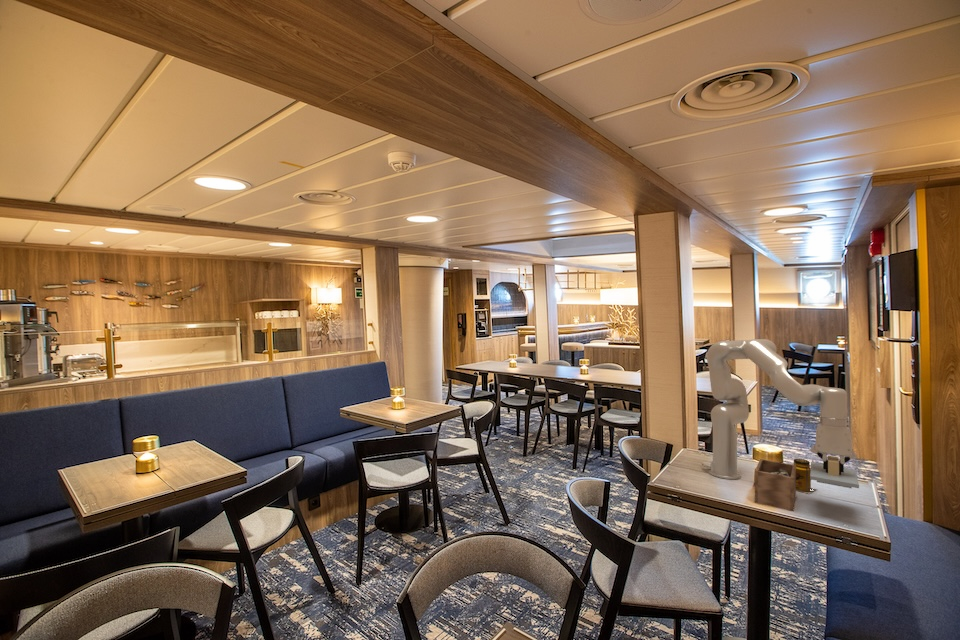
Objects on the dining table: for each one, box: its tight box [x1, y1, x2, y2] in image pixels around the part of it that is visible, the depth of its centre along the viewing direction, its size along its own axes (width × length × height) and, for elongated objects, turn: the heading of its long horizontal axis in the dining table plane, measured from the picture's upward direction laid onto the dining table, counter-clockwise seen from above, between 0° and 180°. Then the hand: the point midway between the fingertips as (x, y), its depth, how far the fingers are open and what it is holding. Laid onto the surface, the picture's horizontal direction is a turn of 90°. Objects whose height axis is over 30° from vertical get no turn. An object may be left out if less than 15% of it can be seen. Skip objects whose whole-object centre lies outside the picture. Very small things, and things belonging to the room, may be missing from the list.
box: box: [754, 458, 797, 512], centre depth 167 cm, size 12×18×12 cm, turn 142°
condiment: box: [793, 458, 818, 495], centre depth 177 cm, size 7×8×12 cm
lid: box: [810, 455, 860, 489], centre depth 156 cm, size 13×19×7 cm
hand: (833, 472), depth 156 cm, fingers closed on lid, 3 cm apart
